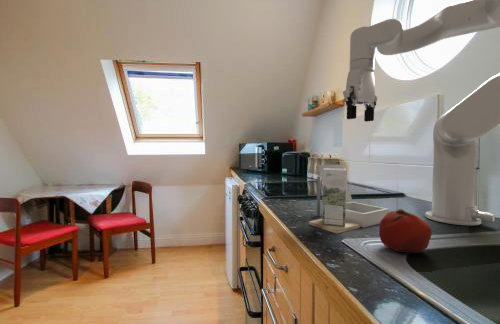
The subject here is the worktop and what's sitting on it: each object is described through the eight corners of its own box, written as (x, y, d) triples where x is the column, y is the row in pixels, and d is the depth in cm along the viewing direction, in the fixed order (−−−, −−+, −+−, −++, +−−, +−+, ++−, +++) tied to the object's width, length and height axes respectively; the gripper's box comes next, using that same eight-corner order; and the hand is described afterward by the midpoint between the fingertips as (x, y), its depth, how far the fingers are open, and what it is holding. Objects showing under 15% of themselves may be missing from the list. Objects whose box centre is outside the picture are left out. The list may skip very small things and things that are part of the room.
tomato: (413, 242, 54) (414, 206, 54) (443, 261, 45) (444, 217, 45) (369, 241, 55) (370, 205, 55) (389, 259, 46) (391, 215, 45)
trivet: (359, 227, 65) (359, 224, 65) (336, 233, 60) (336, 230, 60) (331, 219, 72) (331, 216, 72) (309, 224, 67) (309, 221, 67)
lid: (342, 164, 84) (340, 165, 85) (318, 165, 77) (315, 165, 78) (351, 200, 81) (349, 200, 82) (326, 203, 75) (324, 204, 75)
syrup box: (344, 221, 68) (346, 167, 67) (345, 227, 62) (346, 169, 61) (323, 219, 70) (324, 167, 69) (321, 225, 64) (322, 168, 63)
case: (388, 221, 71) (390, 179, 71) (359, 228, 64) (360, 181, 63) (344, 210, 84) (345, 174, 83) (315, 216, 76) (316, 176, 76)
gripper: (366, 75, 91) (365, 122, 91) (335, 66, 81) (334, 119, 82) (387, 69, 84) (385, 120, 85) (355, 59, 75) (354, 116, 76)
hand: (360, 120), depth 84 cm, fingers open, 9 cm apart
